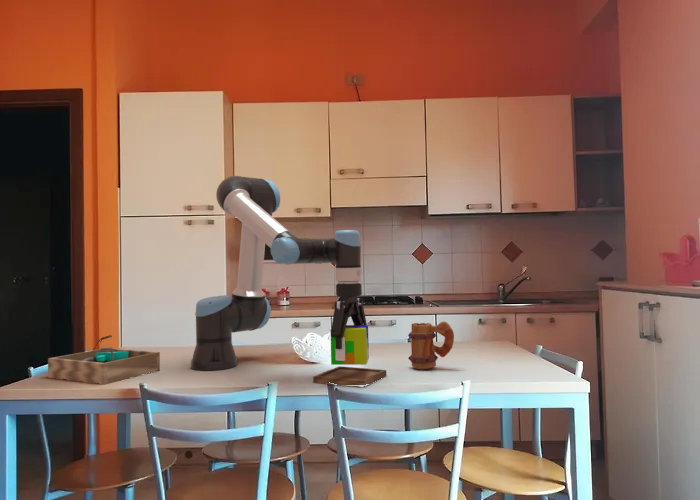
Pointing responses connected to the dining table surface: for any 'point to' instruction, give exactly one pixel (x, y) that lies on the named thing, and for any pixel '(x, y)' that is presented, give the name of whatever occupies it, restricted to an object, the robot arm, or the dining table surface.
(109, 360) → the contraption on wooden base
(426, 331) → the mug
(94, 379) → the open wooden box
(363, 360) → the puzzle toy
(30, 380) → the dining table surface
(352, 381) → the square wooden tray
